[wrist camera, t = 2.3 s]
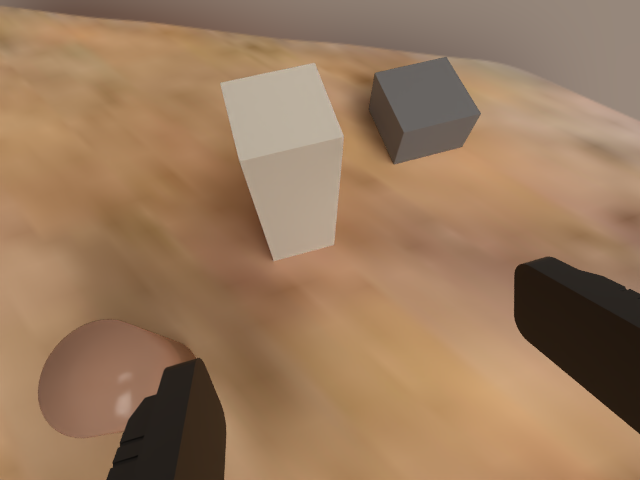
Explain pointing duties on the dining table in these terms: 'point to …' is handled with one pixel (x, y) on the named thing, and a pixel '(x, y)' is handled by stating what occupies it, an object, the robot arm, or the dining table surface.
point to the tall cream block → (288, 155)
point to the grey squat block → (421, 109)
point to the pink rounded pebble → (103, 376)
